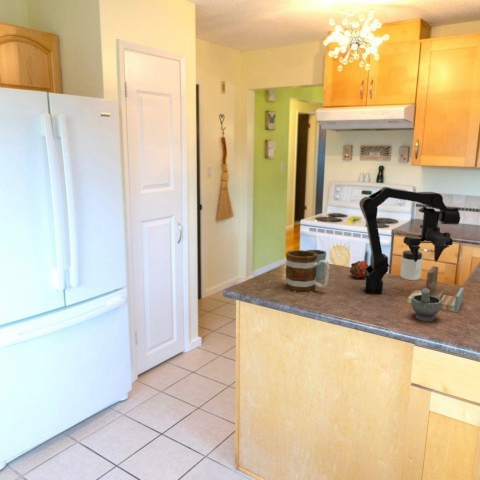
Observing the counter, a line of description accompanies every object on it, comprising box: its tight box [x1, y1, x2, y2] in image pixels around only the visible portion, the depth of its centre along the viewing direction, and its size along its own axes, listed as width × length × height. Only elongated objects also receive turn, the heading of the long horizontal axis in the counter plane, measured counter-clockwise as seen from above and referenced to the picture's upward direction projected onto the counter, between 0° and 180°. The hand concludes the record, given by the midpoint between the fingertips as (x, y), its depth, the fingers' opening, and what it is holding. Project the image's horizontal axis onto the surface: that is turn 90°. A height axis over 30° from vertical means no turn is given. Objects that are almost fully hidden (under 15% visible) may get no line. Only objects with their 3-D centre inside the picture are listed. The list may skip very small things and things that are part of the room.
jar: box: [399, 250, 423, 281], centre depth 199 cm, size 9×8×12 cm
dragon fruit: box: [349, 260, 370, 279], centre depth 200 cm, size 8×8×12 cm
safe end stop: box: [453, 286, 465, 313], centre depth 161 cm, size 1×13×6 cm, turn 146°
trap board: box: [407, 289, 456, 312], centre depth 167 cm, size 16×12×2 cm
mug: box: [284, 249, 330, 293], centre depth 181 cm, size 20×14×15 cm
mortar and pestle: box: [410, 287, 442, 322], centre depth 150 cm, size 11×9×12 cm
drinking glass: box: [305, 249, 327, 280], centre depth 199 cm, size 10×10×12 cm
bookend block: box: [425, 266, 445, 299], centre depth 165 cm, size 5×10×11 cm, turn 146°
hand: (425, 261), depth 176 cm, fingers open, 9 cm apart
